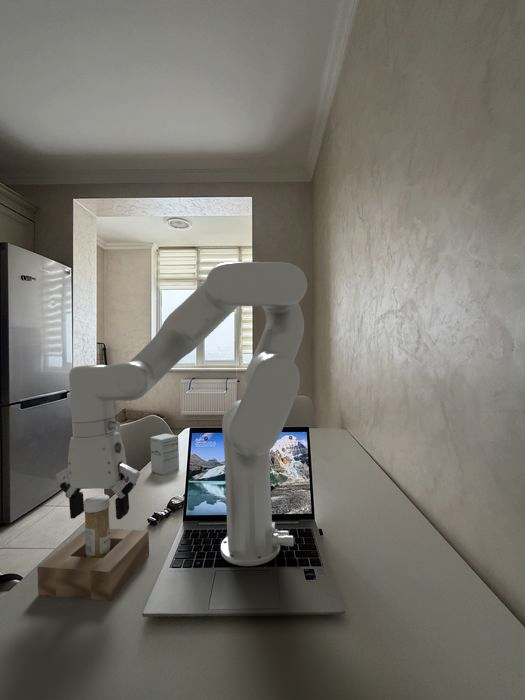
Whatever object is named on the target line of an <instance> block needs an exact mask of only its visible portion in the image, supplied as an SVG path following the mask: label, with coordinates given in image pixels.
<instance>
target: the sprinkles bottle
mask: <svg viewBox="0 0 525 700" xmlns="http://www.w3.org/2000/svg"><path fill="white" fill-rule="evenodd" d="M109 509H110V496H109V495H108V494H103V493H102V494H95V495H91V496H88V497H87V498H85V500H84V520H85V521H84V523H85V525H84V531H85V545H86V557H89V558H104V557H105V556H106V555H107V554H108V553H109V552H110V529H111V528H110V514H109V513H110V512H109V511H110V510H109Z"/></svg>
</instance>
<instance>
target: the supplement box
mask: <svg viewBox="0 0 525 700" xmlns="http://www.w3.org/2000/svg"><path fill="white" fill-rule="evenodd" d="M179 447H180V446H179V435H175V434H171V433H161V434H158V435H153V436H150V464H151V465H150V468H151V469H150V471H151V472H152V473H156V474H158V475H161V476H165V475H169V474H172V473H175V472H177V471H179V470H180V460H179V459H180V453H179V449H180V448H179Z"/></svg>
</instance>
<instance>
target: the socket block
mask: <svg viewBox="0 0 525 700" xmlns="http://www.w3.org/2000/svg"><path fill="white" fill-rule="evenodd" d="M149 540H150V537H149V530H146V529H145V530H143V529H140V530H139V529H123V528H121V529H120V528H110V552H109V553H108V554H107V555H106V556H105V557H104V558H89V557H86V545H85V530H83V531H82V532H81V533H80V534H78V535H77V536H75V537H74V538H73V539H72V540H70V541H69V542H68V543H66V544H65V545H63V547H61V548H60V549H58V551H56V552H54V553H53V554H52V555H50V557H48V558H47V559H46V560H44V561H43V562H41V563H40V564H39V565H38V566H37V567H36V568H37V571H36V572H37V591H38V593H37V595H38V594H39V595H38V596H46V595H49V596H48V597H58V598H59V597H60V598H72V599H80V600H81V599H82V600H95V601H107V602H111V600H112V599H113V598H114V597H115V596H116V595H117V593H118V592H119V591H120V590H121V589H122V588H123V586H124V585H125V584H126V583H127V582H128V580H130V578H131V577H132V576H133V575H134V573H135V572H136V571H137V570H138V569H139V567H141V565H142V564H143V563H144V561H145V560H146V559H147V558H148V557H149V555H150V541H149Z"/></svg>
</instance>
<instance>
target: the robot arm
mask: <svg viewBox="0 0 525 700" xmlns="http://www.w3.org/2000/svg"><path fill="white" fill-rule="evenodd" d="M307 290H308V281H307V278H306V275H305V273H304V271H303V270H302V269H301V268H300V267H299V266H297V265H295V264H293V263H289V262H285V261H284V262H283V261H231V262H223V263H219V264H217V265H215V266H214V267H213V268H211V270H210V271H209V273H208V274H207V276H206V280H205V281H204V282H203V283H201V285H199V286H198V287H197V288H196V290H194V291H193V292H192V293H191V294H190V295H189V296H188V297H187V298H186V299H185V300H184V301H183V302H182V303H180V304H179V305H178V306H177V307H176V308H175V309H174V310H173V311H172V312H171V313H170V314H169V315H168V316H167V317H166V319H165V320H164V321H163V323H162V325H161V327H160V329H159V330H158V331H157V333H156V334H155V336H154V337H153V338H152V339H151V340H150V341H149V342H148V343H147V345H145V346H144V348H142V349H141V350H140V351H139V352H138V353H137V354H136V355H135V356H134V357H133V358H132V359H130V360H129V361H125V362H120V363H116V364H112V365H106V364H91V365H79V366H75V367H73V368H71V369H70V371H69V373H68V383H69V393H70V394H69V395H70V397H69V398H70V410H71V427H72V428H71V429H72V436H71V437H70V439H69V440H70V441H69V444H68V445H69V447H68V457H67V467H66V468H64V469H63V470H61V471H59V472H57V473H56V474H55V478H56V480H57V482H58V483H59V488H60V489H61V490H62V491H63V492H64V493H65V495H64V496H65V498H67V499H68V503H69V505H68V506H69V516H70V519H76V518H77V517H78V516H80V515H81V514H83V513H85V511H84V501H85V500H84V492H83V491H81V490H82V489H84V490H86V489H87V490H88V489H89V490H93V489H94V490H96V489H97V490H105V489H107V490H109V489H110V490H112V491H113V493H114V494H115V495H116V496H117V497H116V498H115V500H114V503H115V517H116V519H117V520H121V519H123V518H124V517H125V516H127V514H129V510H130V501H129V500H130V498H129V493H131V491H132V490H133V489H134V488H135V486H137V482H138V480H139V478H140V471H139V470H137V469H135V468H133V467H131V466H130V465H127V458H126V452H125V446H124V443H123V440H122V436H121V433H120V432H119V431H116V430H117V429H120V428H121V422H120V421H116V417H115V403H114V401H121V402H124V401H125V402H127V401H129V402H131V401H132V402H133V401H136V400H139V399H140V398H142V397H144V396H145V395H146V394H147V393H148V392H149V391H150V390H152V388H153V387H155V385H156V384H157V383H158V382H159V381H161V380H162V378H164V377H165V375H167V374H168V372H169V371H170V370H172V369H173V368H174V367H175V366H176V365H177V364H178V363H179V362H180V361H181V360H182V359H183V358H184V357H186V356H187V355H189V354H191V352H193V351H194V350H195V349H196V348H197V347H198V346H200V345H201V343H203V341H204V340H205V339H207V338H208V337H209V335H210V334H212V333H213V332H214V330H216V329H217V328H218V327H219V325H221V324H222V323H223V322H224V321H225V320H226V319H227V318H228V317H229V316H230V315H231V314H232V313H233V312H234V311H235V310H236V309H237V308H238V307H261V308H262V309H263V311H264V313H265V314H264V315H265V318H266V320H265V326H264V330H263V333H262V335H261V337H260V340H259V343H258V345H257V347H256V349H255V351H254V353H253V356H252V357H251V360H250V361H249V364H248V366H247V367H246V370H245V376H244V379H245V384H246V388H245V390H244V393H243V395H242V397H241V398H240V399H238V400H236V401H234V402H232V403H231V404H230V405H229V406H227V408H226V410H225V412H224V414H223V417H222V422H221V425H222V427H221V428H222V439H223V442H222V443H223V453H224V469H225V470H224V473H225V478H224V479H225V502H226V503H225V504H226V528H227V529H226V531H227V533H226V534H227V536H225V538H224V539H223V540H222V541H221V544H220V554H221V556H222V558H223V559H224V560H225V561H227V563H230V564H232V565H236V566H242V567H253V566H254V567H255V566H259V565H263V564H265V563H269V562H270V561H272V560H273V559H275V558H276V557H277V555H278V554H279V553H280V550H281V546H284V547H294V535H289V534H290V533H289V530H278V528H276V522H275V521H273V520H272V515H273V514H272V495H271V493H272V492H271V462H270V460H271V459H270V451H271V450H272V448H273V447H274V446H275V444H277V441H278V439H279V437H280V435H281V433H282V431H283V429H284V426H285V425H286V422H287V420H288V417H289V414H290V413H291V410H292V408H293V405H294V402H295V400H296V397H297V395H298V394H299V389H300V383H301V379H300V378H301V376H300V371H299V368H298V366H297V365H296V363H295V359H296V357H297V354H298V352H299V348H300V346H301V343H302V340H303V337H304V332H305V319H304V315H303V312H302V309H301V305H300V304H299V303H300V302H301V300H303V298H304V297H305V295H306V293H307ZM127 478H128V482H127V481H125V480H126V479H127Z"/></svg>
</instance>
